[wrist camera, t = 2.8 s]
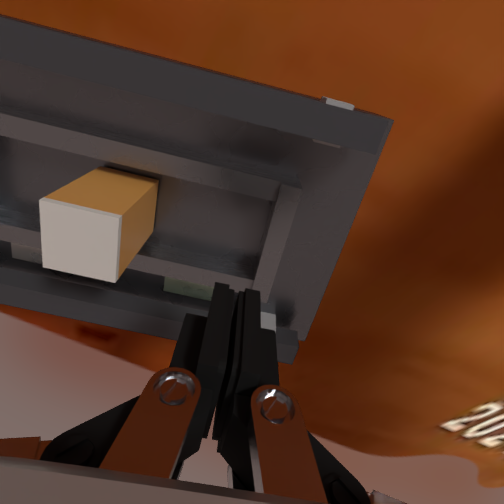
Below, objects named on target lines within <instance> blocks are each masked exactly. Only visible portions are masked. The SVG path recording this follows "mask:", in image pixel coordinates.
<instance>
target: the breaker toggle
mask: <svg viewBox="0 0 504 504" xmlns="http://www.w3.org/2000/svg"><path fill="white" fill-rule="evenodd" d="M158 183H159V180H156V179H152V178H148V177H144V176H140V175H135V174H131V173H127V172H123V171H119V170H115V169H111V168H106V167H102V166H100V167H98V168H96V169H94V170H93V171H91V172H89V173H87V174H85V175H83V176H82V177H80V178H78V179H76V180H74V181H72V182H71V183H69V184H67V185H65V186H63V187H61V188H60V189H58V190H56V191H54V192H52V193H51V194H49V195H47V196H45V197H43V198H41V199H40V200H39V209H40V227H41V244H42V262H43V267H44V268H49V269H53V270H58V271H62V272H67V273H72V274H76V275H81V276H85V277H90V278H95V279H99V280H104V281H108V282H113V283H116V281H117V280H118V279H119V277H120V276H121V275H122V273H123V272H124V270H125V269H126V268H127V266H128V265H129V264H130V262H131V261H132V260H133V258H134V257H135V256H136V254H137V253H138V251H139V250H140V249H141V247H142V246H143V245H144V243H145V242H146V241H147V239H148V238H149V236H150V235H151V234H152V232H153V228H154V219H155V210H156V201H157V192H158Z"/></svg>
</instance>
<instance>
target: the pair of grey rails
mask: <svg viewBox="0 0 504 504" xmlns="http://www.w3.org/2000/svg"><path fill="white" fill-rule="evenodd" d="M0 59H4V60H8V61H12V62H16V63H20V64H23V65H27V66H31V67H35V68H39V69H43V70H47V71H51V72H55V73H59V74H62V75H66V76H70V77H74V78H78V79H82V80H86V81H90V82H94V83H98V84H101V85H105V86H109V87H113V88H117V89H121V90H125V91H129V92H133V93H137V94H140V95H144V96H148V97H152V98H156V99H160V100H164V101H168V102H172V103H176V104H179V105H183V106H187V107H191V108H195V109H199V110H203V111H207V112H211V113H215V114H218V115H222V116H226V117H230V118H234V119H238V120H242V121H246V122H250V123H254V124H257V125H261V126H265V127H269V128H273V129H277V130H281V131H285V132H289V133H292V134H296V135H300V136H304V137H308V138H312V140H313V141H314V142H317V143H321V144H325V145H329V146H333V147H336V148H340V146H343V147H347V148H351V149H355V150H359V151H363V152H367V153H370V154H374V155H376V153H377V150H378V148H379V145H380V143H381V140H382V138H383V135H384V133H385V130H386V128H387V125H388V122H389V121H388V120H386V119H383V118H380V117H377V116H373V115H370V114H366V113H362V112H358V111H354V110H353V108H354V105H351V104H349V103H346V102H342V101H338V100H334V99H331V98H327V97H323V96H322V98H321V101H317V100H313V99H309V98H305V97H302V96H298V95H294V94H290V93H286V92H283V91H279V90H275V89H271V88H268V87H264V86H260V85H256V84H252V83H249V82H245V81H241V80H237V79H234V78H230V77H226V76H222V75H218V74H215V73H211V72H207V71H203V70H200V69H196V68H192V67H188V66H184V65H181V64H177V63H173V62H169V61H166V60H162V59H158V58H154V57H150V56H147V55H143V54H139V53H135V52H131V51H128V50H124V49H120V48H116V47H113V46H109V45H105V44H101V43H97V42H94V41H90V40H86V39H82V38H79V37H75V36H71V35H67V34H63V33H60V32H56V31H52V30H48V29H45V28H41V27H37V26H33V25H29V24H26V23H22V22H18V21H14V20H11V19H7V18H3V17H0ZM0 304H5V305H9V306H14V307H19V308H24V309H29V310H33V311H38V312H43V313H48V314H52V315H57V316H62V317H67V318H72V319H76V320H81V321H86V322H91V323H96V324H100V325H105V326H110V327H115V328H119V329H124V330H129V331H134V332H139V333H143V334H148V335H153V336H158V337H163V338H167V339H172V340H177V341H178V337H179V334H180V331H181V328H182V324H183V321H184V318H185V315H186V313H190V314H195V315H200V316H205V317H208V312H206V311H202V310H197V309H192V308H188V307H183V306H179V305H174V304H169V303H165V302H160V301H155V300H151V299H146V298H142V297H137V296H132V295H128V294H123V293H118V292H114V291H109V290H104V289H100V288H95V287H91V286H86V285H81V284H77V283H72V282H67V281H63V280H58V279H54V278H49V277H44V276H40V275H35V274H30V273H26V272H21V271H17V270H12V269H7V268H3V267H0ZM261 328H265V329H270V330H274V331H275V333H276V346H277V360H278V362H282V363H287V364H292V363H293V361H294V358H295V356H296V353H297V351H298V348H299V343H298V334H297V331H294V330H290V329H285V328H280V327H276V315H275V314H271V313H266V312H261Z"/></svg>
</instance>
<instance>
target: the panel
mask: <svg viewBox="0 0 504 504" xmlns="http://www.w3.org/2000/svg"><path fill="white" fill-rule="evenodd" d="M0 17H3V18H7V19H11V20H14V21H18V22H22V23H26V24H29V25H33V26H37V27H41V28H45V29H48V30H52V31H56V32H60V33H63V34H67V35H71V36H75V37H79V38H82V39H86V40H90V41H94V42H97V43H101V44H105V45H109V46H113V47H116V48H120V49H124V50H128V51H131V52H135V53H139V54H143V55H147V56H150V57H154V58H158V59H162V60H166V61H169V62H173V63H177V64H181V65H184V66H188V67H192V68H196V69H200V70H203V71H207V72H211V73H215V74H218V75H222V76H226V77H230V78H234V79H237V80H241V81H245V82H249V83H252V84H256V85H260V86H264V87H268V88H271V89H275V90H279V91H283V92H286V93H290V94H294V95H298V96H302V97H305V98H309V99H313V100H317V101H321V99H319V98H315V97H311V96H308V95H304V94H300V93H296V92H293V91H289V90H285V89H281V88H277V87H274V86H270V85H266V84H262V83H259V82H255V81H251V80H247V79H244V78H240V77H236V76H232V75H228V74H225V73H221V72H217V71H213V70H210V69H206V68H202V67H198V66H195V65H191V64H187V63H183V62H179V61H176V60H172V59H168V58H164V57H161V56H157V55H153V54H149V53H145V52H142V51H138V50H134V49H130V48H127V47H123V46H119V45H115V44H112V43H108V42H104V41H100V40H96V39H93V38H89V37H85V36H81V35H78V34H74V33H70V32H66V31H62V30H59V29H55V28H51V27H47V26H44V25H40V24H36V23H32V22H29V21H25V20H21V19H17V18H13V17H10V16H6V15H2V14H0ZM353 110H354V111H358V112H362V113H366V114H370V115H373V116H377V117H380V118H383V119H386V120H388V121H389V122H388V125H387V128H386V130H385V133H384V135H383V138H382V140H381V143H380V145H379V148H378V150H377V153H376V155H374V154H370V153H367V152H363V151H359V150H355V149H351V148H347V147H343V146H340V148H336V147H333V146H329V145H325V144H321V143H317V142H314V141H313V140H312V138H308V137H304V136H300V135H296V134H292V133H289V132H285V131H281V130H277V129H273V128H269V127H265V126H261V125H257V124H254V123H250V122H246V121H242V120H238V119H234V118H230V117H226V116H222V115H218V114H215V113H211V112H207V111H203V110H199V109H195V108H191V107H187V106H183V105H179V104H176V103H172V102H168V101H164V100H160V99H156V98H152V97H148V96H144V95H140V94H137V93H133V92H129V91H125V90H121V89H117V88H113V87H109V86H105V85H101V84H98V83H94V82H90V81H86V80H82V79H78V78H74V77H70V76H66V75H62V74H59V73H55V72H51V71H47V70H43V69H39V68H35V67H31V66H27V65H23V64H20V63H16V62H12V61H8V60H4V59H0V267H3V268H7V269H12V270H17V271H21V272H26V273H30V274H35V275H40V276H44V277H49V278H54V279H58V280H63V281H67V282H72V283H77V284H81V285H86V286H91V287H95V288H100V289H104V290H109V291H114V292H118V293H123V294H128V295H132V296H137V297H142V298H146V299H151V300H155V301H160V302H165V303H169V304H174V305H179V306H183V307H188V308H192V309H197V310H202V311H206V312H209V307H210V303H211V298H212V294H213V289H214V285H215V282H219V283H224V284H229V285H230V287H229V289H233V290H235V292H234V301H233V310H232V315H233V311H234V308H235V304H236V300H237V296H238V292H239V291H243V292H244V291H245V288H248V289H253V290H258V291H260V296H261V312H266V313H271V314H275V315H276V327H280V328H285V329H290V330H294V331H297V334H298V340H301V341H305V339H306V337H307V334H308V332H309V329H310V327H311V324H312V322H313V319H314V317H315V315H316V312H317V310H318V307H319V305H320V302H321V300H322V297H323V295H324V292H325V290H326V287H327V285H328V282H329V280H330V277H331V275H332V273H333V270H334V268H335V265H336V263H337V260H338V258H339V255H340V253H341V250H342V248H343V245H344V243H345V240H346V238H347V235H348V233H349V230H350V228H351V226H352V223H353V221H354V218H355V216H356V213H357V211H358V208H359V206H360V203H361V201H362V198H363V196H364V193H365V191H366V188H367V186H368V184H369V181H370V179H371V176H372V174H373V171H374V169H375V166H376V164H377V161H378V159H379V156H380V154H381V151H382V149H383V146H384V144H385V141H386V139H387V137H388V134H389V132H390V129H391V127H392V124H393V122H394V120H392V119H389V118H387V117H384V116H381V115H378V114H376V113H372V112H368V111H364V110H360V109H357V108H353ZM100 166H102V167H106V168H111V169H115V170H119V171H123V172H127V173H131V174H135V175H140V176H144V177H148V178H152V179H156V180H159V183H158V192H157V201H156V210H155V219H154V228H153V232H152V234H151V235H150V236H149V238H148V239H147V241H146V242H145V243H144V245H143V246H142V247H141V249H140V250H139V251H138V253H137V254H136V256H135V257H134V258H133V260H132V261H131V262H130V264H129V265H128V266H127V268H126V269H125V270H124V272H123V273H122V275H121V276H120V277H119V279H118V280H117V281H116V283H113V282H108V281H104V280H99V279H95V278H90V277H85V276H81V275H76V274H72V273H67V272H62V271H58V270H53V269H49V268H44V267H43V262H42V244H41V227H40V209H39V200H40V199H41V198H43V197H45V196H47V195H49V194H51V193H52V192H54V191H56V190H58V189H60V188H61V187H63V186H65V185H67V184H69V183H71V182H72V181H74V180H76V179H78V178H80V177H82V176H83V175H85V174H87V173H89V172H91V171H93V170H94V169H96V168H98V167H100Z"/></svg>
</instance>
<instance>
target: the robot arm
mask: <svg viewBox="0 0 504 504" xmlns="http://www.w3.org/2000/svg"><path fill="white" fill-rule="evenodd" d="M229 287H230V285H229V284H224V283H219V282H215V285H214V289H213V294H212V298H211V303H210V307H209V312H208V317H205V316H200V315H195V314H190V313H186V315H185V318H184V321H183V324H182V328H181V331H180V334H179V337H178V341H177V344H176V347H175V350H174V354H173V357H172V360H171V363H170V366H169V368H165V369H162V370H160V371H158V372H157V373H155V374H154V375H153V376H152V377H151V379H150V380H149V381H148V383H147V385H146V387H145V388H144V390H143V392H142V394H141V395H139V396H137V397H135V398H133V399H131V400H129V401H127V402H125V403H123V404H121V405H119V406H117V407H115V408H113V409H111V410H109V411H107V412H105V413H102V414H101V415H99V416H96V417H94V418H92V419H90V420H88V421H86V422H84V423H82V424H80V425H78V426H76V427H74V428H72V429H70V430H68V431H66V432H64V433H62V434H61V435H59V436H58V437H56V438H54V439H53V440H49V441H41V438H40V437H26V438H25V437H24V438H7V439H0V504H407V503H404V502H402V501H399V500H397V499H394V498H392V497H390V496H387V495H385V494H382V493H380V492H377V491H375V490H373V492H372V493H369V492H366V491H365V489H364V487H363V486H362V485H361V484H360V483H359V482H358V480H357V479H356V478H355V477H354V476H353V475H352V474H351V473H350V472H349V471H348V470H347V469H346V468H345V467H344V466H343V465H342V464H341V463H339V461H338V460H336V458H335V457H334V456H333V455H332V454H331V453H330V452H329V451H327V450H326V448H324V446H323V445H322V444H320V442H319V441H317V439H315V438H314V437H313V436H312V435H311V434H310V433H309V432H308V431H307V429H306V426H305V422H304V419H303V416H302V412H301V409H300V406H299V404H298V401H297V400H296V398H295V397H294V396H293V395H292V394H291V393H290V392H289V391H287V390H286V389H284V388H282V387H280V386H279V374H278V360H277V346H276V333H275V331H274V330H270V329H265V328H261V296H260V291H258V290H253V289H248V288H245V291H244V292H243V291H239V292H238V296H237V300H236V304H235V308H234V311H233V315H232V310H233V301H234V292H235V290H233V289H229ZM215 407H216V411H215ZM214 411H215V419H214V426H213V434H212V435H213V436H212V439H213V440H218V447H217V452H219V453H220V454H221V455H222V457H224V459H225V460H226V462H227V463H228V464H229V465H228V472H227V476H228V488H226V487H219V486H213V485H206V484H200V483H193V482H187V481H180V480H178V479H179V476H180V473H181V470H182V468H183V464H184V460H185V459H187V458H188V457H190V456H191V455H193V454H194V453H196V452H197V451H198V450H199V448H200V444H201V440H202V438H207V436H208V432H209V429H210V425H211V421H212V418H213V414H214Z"/></svg>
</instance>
